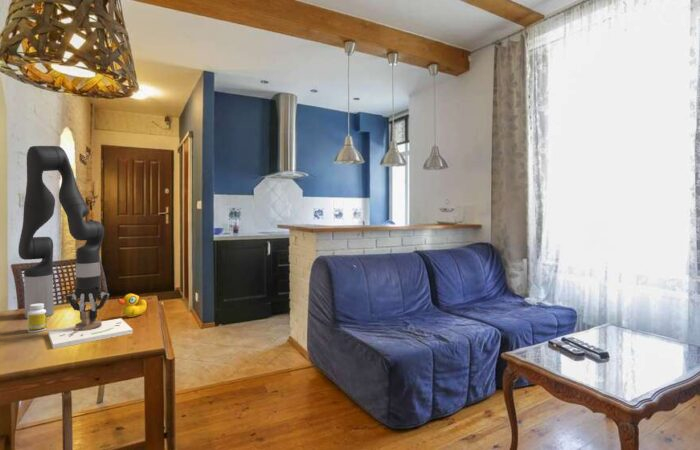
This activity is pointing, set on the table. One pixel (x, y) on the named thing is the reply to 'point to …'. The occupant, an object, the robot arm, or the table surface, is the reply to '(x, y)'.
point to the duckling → (132, 305)
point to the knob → (87, 321)
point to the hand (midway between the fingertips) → (88, 320)
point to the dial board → (88, 333)
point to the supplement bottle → (37, 318)
